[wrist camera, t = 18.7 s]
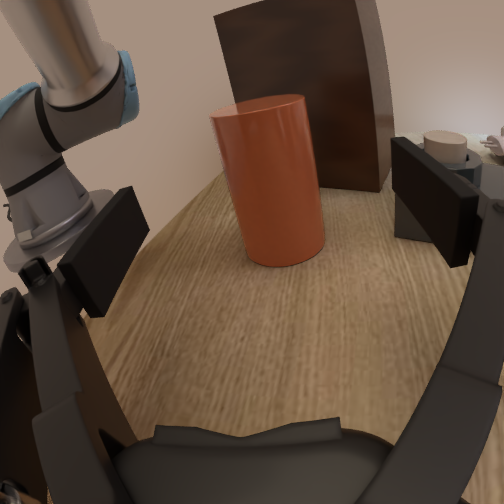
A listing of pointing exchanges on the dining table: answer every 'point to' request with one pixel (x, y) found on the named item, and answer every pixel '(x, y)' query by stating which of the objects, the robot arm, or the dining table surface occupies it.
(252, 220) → the orange cylinder
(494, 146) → the charger
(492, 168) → the gray button box
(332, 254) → the dining table surface
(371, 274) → the dining table surface
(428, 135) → the round white push button
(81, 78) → the robot arm
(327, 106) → the stand
